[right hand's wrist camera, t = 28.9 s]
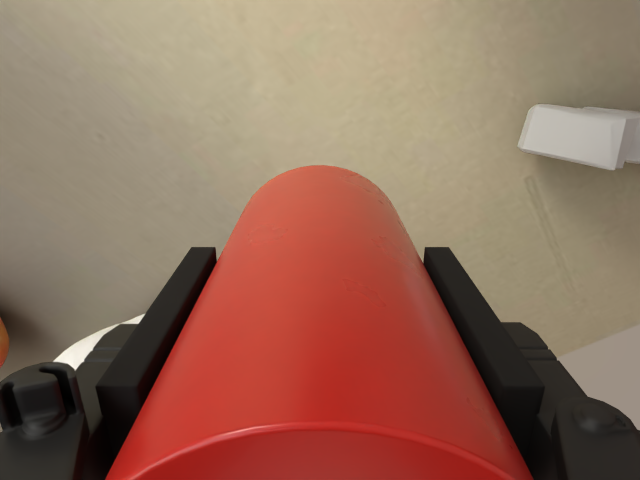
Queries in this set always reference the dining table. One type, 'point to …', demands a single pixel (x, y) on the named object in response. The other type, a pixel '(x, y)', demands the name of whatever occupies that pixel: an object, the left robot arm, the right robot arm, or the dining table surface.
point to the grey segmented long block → (583, 135)
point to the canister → (319, 356)
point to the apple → (3, 343)
